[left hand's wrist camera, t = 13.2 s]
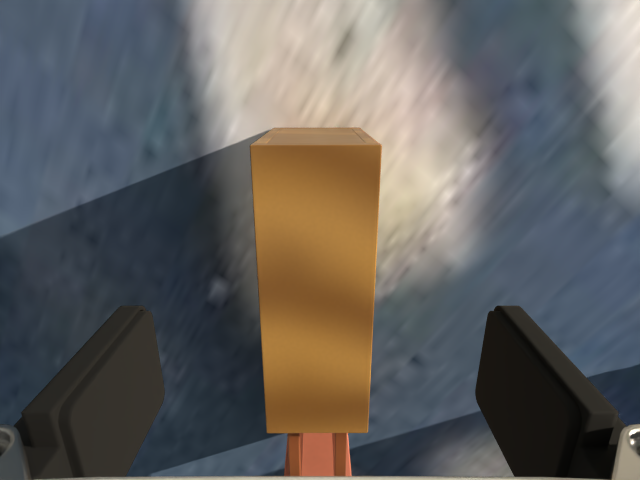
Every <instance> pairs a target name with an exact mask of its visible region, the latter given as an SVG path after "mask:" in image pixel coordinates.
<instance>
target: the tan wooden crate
mask: <svg viewBox="0 0 640 480" xmlns="http://www.w3.org/2000/svg"><path fill="white" fill-rule="evenodd" d="M381 151H382V145H381V144H380V143H378V142H377V141H376V140H374V139H373V138H372V137H371V136H369V135H368V134H367V133H366V132H364V131H363V130H362V129H361V128H273V129H272V130H270V131H269V132H268V133H266V134H265V135H264V136H262V137H261V138H260V139H258V140H257V141H256V142H254V143H253V144H251V145H250V157H251V174H252V191H253V208H254V225H255V242H256V259H257V275H258V292H259V309H260V326H261V343H262V360H263V377H264V394H265V411H266V428H267V433H367V432H368V416H369V396H370V376H371V355H372V335H373V314H374V294H375V273H376V253H377V232H378V212H379V192H380V171H381Z"/></svg>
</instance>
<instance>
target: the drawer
mask: <svg viewBox="0 0 640 480" xmlns="http://www.w3.org/2000/svg"><path fill="white" fill-rule="evenodd" d="M284 476H351V465H350V454H349V442H348V433H288V438H287V449H286V460H285V471H284Z"/></svg>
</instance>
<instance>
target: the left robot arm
mask: <svg viewBox="0 0 640 480" xmlns="http://www.w3.org/2000/svg"><path fill="white" fill-rule="evenodd" d="M164 393H165V390H164V383H163V377H162V371H161V365H160V359H159V353H158V347H157V340H156V334H155V328H154V322H153V316H152V313H151V312H150V311H146V309H145V307H144V306H120V307H119V308H118V309H117V310H116V311H115V312H114V313H113V314H112V315H111V317H110V318H109V319H108V320H107V321H106V322H105V323H104V324H103V325H102V326H101V327H100V328H99V329H98V331H97V332H96V333H95V334H94V335H93V336H92V337H91V338H90V339H89V340H88V341H87V342H86V343H85V345H84V346H83V347H82V348H81V349H80V350H79V351H78V352H77V353H76V354H75V355H74V356H73V357H72V359H71V360H70V361H69V362H68V363H67V364H66V365H65V366H64V367H63V368H62V369H61V370H60V371H59V373H58V374H57V375H56V376H55V377H54V378H53V379H52V380H51V381H50V382H49V383H48V384H47V385H46V387H45V388H44V389H43V390H42V391H41V392H40V393H39V394H38V395H37V396H36V397H35V398H34V399H33V401H32V402H31V403H30V404H29V405H28V406H27V407H26V408H25V409H24V410H23V411H22V412H21V413H22V417H21V418H20V420H19V421H18V422H17V423H16V424H15V425H14V426H11V425H5V424H0V480H640V424H635V425H629V426H626V425H625V424H624V423H623V422H622V421H621V420H620V418H619V417H618V413H619V412H618V411H617V410H616V409H615V408H614V407H613V406H612V405H611V404H610V403H609V402H608V401H607V399H606V398H605V397H604V396H603V395H602V394H601V393H600V392H599V391H598V390H597V389H596V388H595V387H594V385H593V384H592V383H591V382H590V381H589V380H588V379H587V378H586V377H585V376H584V375H583V374H582V373H581V371H580V370H579V369H578V368H577V367H576V366H575V365H574V364H573V363H572V362H571V361H570V360H569V359H568V357H567V356H566V355H565V354H564V353H563V352H562V351H561V350H560V349H559V348H558V347H557V346H556V345H555V343H554V342H553V341H552V340H551V339H550V338H549V337H548V336H547V335H546V334H545V333H544V332H543V331H542V329H541V328H540V327H539V326H538V325H537V324H536V323H535V322H534V321H533V320H532V319H531V318H530V317H529V315H528V314H527V313H526V312H525V311H524V310H523V309H522V308H521V307H520V306H496V307H495V309H494V311H490V312H489V313H488V316H487V322H486V328H485V334H484V340H483V347H482V353H481V359H480V365H479V371H478V377H477V383H476V390H475V394H476V400H477V403H478V405H479V407H480V409H481V411H482V413H483V415H484V417H485V419H486V421H487V423H488V425H489V427H490V429H491V431H492V433H493V435H494V437H495V439H496V441H497V443H498V445H499V447H500V449H501V451H502V453H503V455H504V457H505V459H506V461H507V463H508V465H509V467H510V469H511V471H512V473H513V475H514V477H450V476H190V477H126V475H127V473H128V471H129V469H130V467H131V465H132V463H133V461H134V459H135V457H136V455H137V453H138V451H139V449H140V447H141V445H142V443H143V441H144V439H145V437H146V435H147V433H148V431H149V429H150V427H151V425H152V423H153V421H154V419H155V417H156V415H157V413H158V411H159V409H160V407H161V405H162V403H163V400H164Z"/></svg>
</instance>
